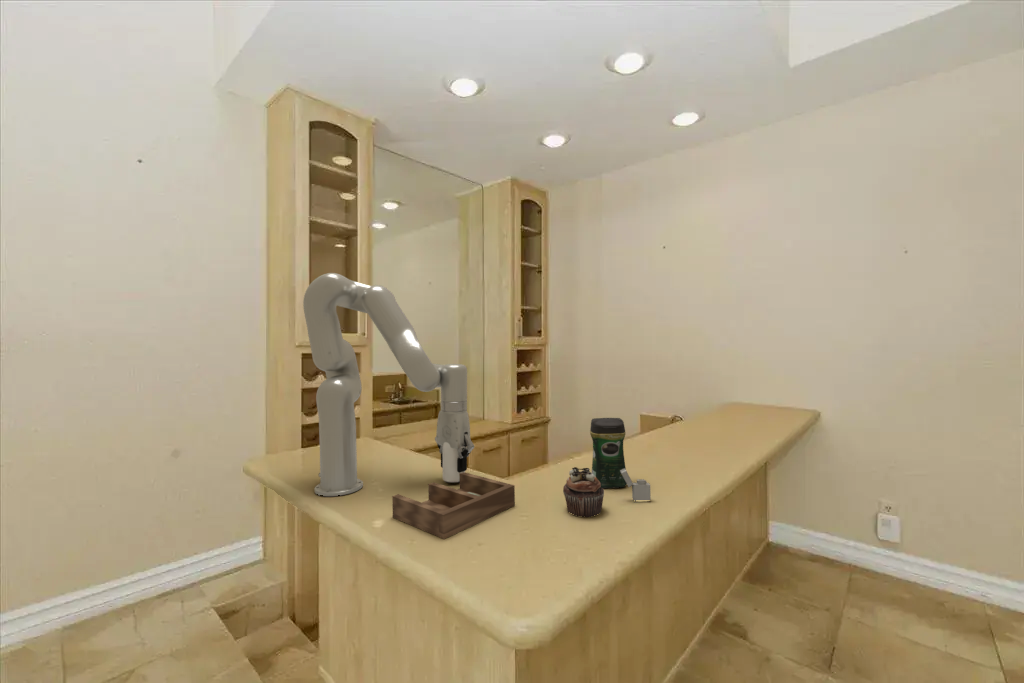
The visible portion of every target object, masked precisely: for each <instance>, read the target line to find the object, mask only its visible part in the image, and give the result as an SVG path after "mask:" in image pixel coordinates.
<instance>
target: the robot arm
mask: <svg viewBox="0 0 1024 683" xmlns="http://www.w3.org/2000/svg"><path fill="white" fill-rule="evenodd" d="M303 296H304V297H303V301H302V302H303V304H302V305H303V307H302V308H303V314H304V319H305V324H306V327H307V336H308V340H309V344H310V352H311V356H312V361H313V364H314V365H315V366H316V368H317V369H319V370H320V371H323V372H325V378H326V379H325V380H323V381H322V382H321V383H320V384H319V386H318V387H317V390H316V394H315V395H316V397H315V400H316V408H317V415H318V431H319V432H318V435H319V466H320V467H319V470H320V472H319V473H318V477H319V478H320V479H319V481H320V483H318V484H317V485H316V486H315V487H314V494H315V495H317V494H318V495H317V496H320V495H323V496H322V497H337V496H338V495H340V496H344V495H349V494H352V493H355V492H357V491H360V490H361V489H362V488H363V486H364V481H363V480H362V479H360V478H358V467H357V466H358V460H357V458H358V457H357V422H356V412H355V411H356V410H355V402H357V401H358V400H359V398H360V396H361V394H362V389H363V386H362V379H361V376H360V370H359V366H358V361H357V356H356V353H355V349H354V347H353V346H352V344H351V343H350V342H349V341H347V340H346V339H344V338H343V333H342V329H341V324H340V319H339V316H338V312H337V307H340V308H345V309H349V310H353V311H356V312H357V311H358V312H360V313H365V314H367V315H368V316H369V318H370V319H371V321H372V323H373V324H374V325H375V326H376V328H377V330H378V331H379V333H380V334H381V336H382V337H383V339H384V340H385V342H386V344H387V346H388V348H389V349H390V351H391V353H393V354H392V355H393V356H394V357H395V359H396V361H397V362H398V364H399V366H400V367H401V368H402V371H403V372H404V374H405V375H406V377H407V378H408V380H409V381H410V382H411V384H412V385H413V386H414V388H415V389H416V390H418V391H420V392H424V393H425V392H426V393H428V392H431V391H434V390H435V389H436V388H440V410H439V412H438V417H437V422H436V436H435V437H434V441H435V442H436V445H437V447H438V449H439V451H438V452H439V454H440V467H441V469H443V444H444V443H445V442H447V443H449V445H450V447H451V448H453V449H457V451H458V455H459V458H458V459H457V471H458V472H459V473H460V472H463V471H465V472H466V471H467V470H468V457H469V456H470V455H471V453H472V451H473V450H474V449H475V444H474V442H473V441H472V440H471V425H470V417H469V412H468V368H467V366H466V365H465V364H462V363H447V364H440V363H439V364H438V363H432V361H431V359H430V358H429V356H428V354H427V353H426V351H425V350H424V348H423V347H422V345H421V344H420V341H419V340H418V336H417V333H416V330H415V328H414V326H413V325H412V323H411V322H410V320H409V319H408V317H407V316H406V315H405V313H404V312H403V310H402V308H401V307H400V305H399V303H398V302H397V299H396V296H395V295H394V294H393V292H391V290H389V289H388V288H387V287H385V286H384V285H380V284H379V285H378V284H375V285H369V284H366V283H362V282H358V281H355V280H353V279H352V280H351V279H350V278H348V277H346V276H344V275H342V274H339V273H336V272H328V273H324V274H322V275H319V276H317V277H316V278H314V280H312V282H310V284H309V285H308V286H307V289H306V290H305V293H304V295H303ZM463 443H464V446H462V445H463ZM463 448H464V451H463V452H462V450H461V449H463ZM338 497H339V496H338Z"/></svg>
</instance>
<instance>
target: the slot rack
mask: <svg viewBox="0 0 1024 683" xmlns="http://www.w3.org/2000/svg"><path fill="white" fill-rule="evenodd" d="M427 485H428V499H427V500H425V501H422V502H421V501H418V500H416V499H413V498H411V497H407V496H405V495H402V494H399V493H398V494H395V495H392V496H391V498H392V505H391V506H392V518H393V517H394V518H393V519H395V518H396V519H395V520H397V519H398V520H397V521H400V522H402V521H403V523H404V522H405V524H407V525H410V526H412V527H414V528H417V529H419V530H422V531H423V532H425V533H428V534H430V535H433V536H436V537H438V538H440V539H442V540H445V539H448V538H450V537H451V536H453V535H456V534H458V533H460V532H462V531H465V530H467V529H469V528H471V527H473V526H475V525H477V524H479V523H481V522H484V521H485V520H488V519H490V518H492V517H494V516H496V515H498V514H500V513H502V512H504V511H506V510H509V509H512V508H514V507H515V506H516V502H515V501H516V497H515V496H516V495H515V494H516V493H515V489H516V488H515V486H516V485H514V484H512V483H507V482H503V481H500V480H499V481H498V480H495V479H492V478H488V477H484V476H482V475H481V476H480V475H476V474H474V473H473V474H472V473H468V472H466V471H465V472H463V473H460V482H459V488H457V489H456V488H454V487H450V486H447V485H443V484H440V483H437V482H434V481H433V482H430V483H428V484H427Z"/></svg>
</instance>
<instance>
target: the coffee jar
mask: <svg viewBox="0 0 1024 683" xmlns="http://www.w3.org/2000/svg"><path fill="white" fill-rule="evenodd" d="M589 429H590V430H589V433H590V438H591V440H592V464H591V473H592V474H593V475H595V477H596V478H597V479H598V480H599V482H600V483H601V488H602V489H617V488H619V487H620V488H625V487H626V486H628V485H627V483H626V481H625V479H624V478H623V476H622V474H621V472H620V470H622V469H624V468H625V469H627V468H626V463H625V462H626V461H625V460H626V459H625V455H624V452H625V451H624V440H625V437H626V427H625V422H624V420H623V419H622V418H620V417H597V418H594V417H593V418H592V419H591V421H590V428H589Z"/></svg>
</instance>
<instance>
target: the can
mask: <svg viewBox="0 0 1024 683" xmlns="http://www.w3.org/2000/svg"><path fill="white" fill-rule="evenodd" d="M462 446H464V443H463V445H462ZM461 450H462V452H463V451H464V448H463V449H461ZM458 458H459V455H458V451H457V449H453V448H451V447H450V445H449V443H447V442H445V443H444V444H443V468H442V480H443V481H444V483H452V484H453V483H454V484H455V483H460V473H463V472H465V473H466V471H463V472H460V473H459V472H458V471H457V459H458Z"/></svg>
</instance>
